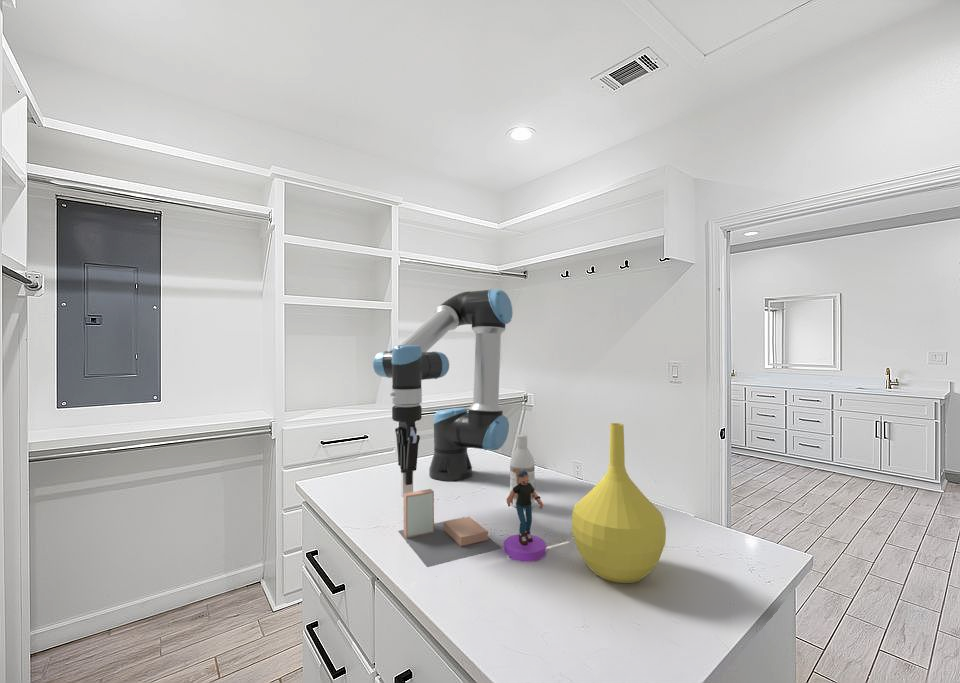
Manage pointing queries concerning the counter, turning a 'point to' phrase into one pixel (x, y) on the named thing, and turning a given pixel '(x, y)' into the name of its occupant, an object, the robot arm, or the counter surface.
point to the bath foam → (521, 466)
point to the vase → (618, 523)
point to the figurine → (524, 525)
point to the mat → (445, 546)
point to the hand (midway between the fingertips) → (407, 495)
